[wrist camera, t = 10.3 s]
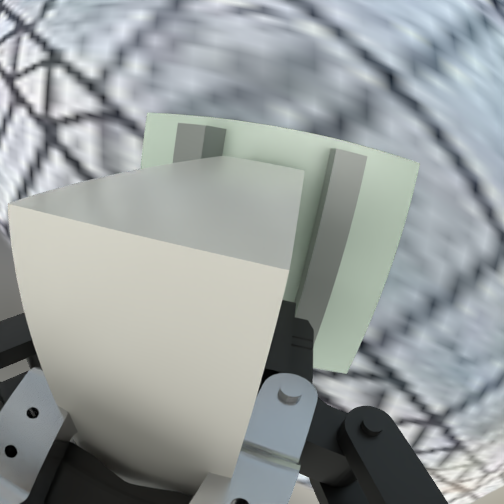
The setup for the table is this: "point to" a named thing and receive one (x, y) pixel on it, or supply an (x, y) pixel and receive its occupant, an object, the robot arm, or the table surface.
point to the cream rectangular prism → (158, 308)
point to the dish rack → (314, 216)
